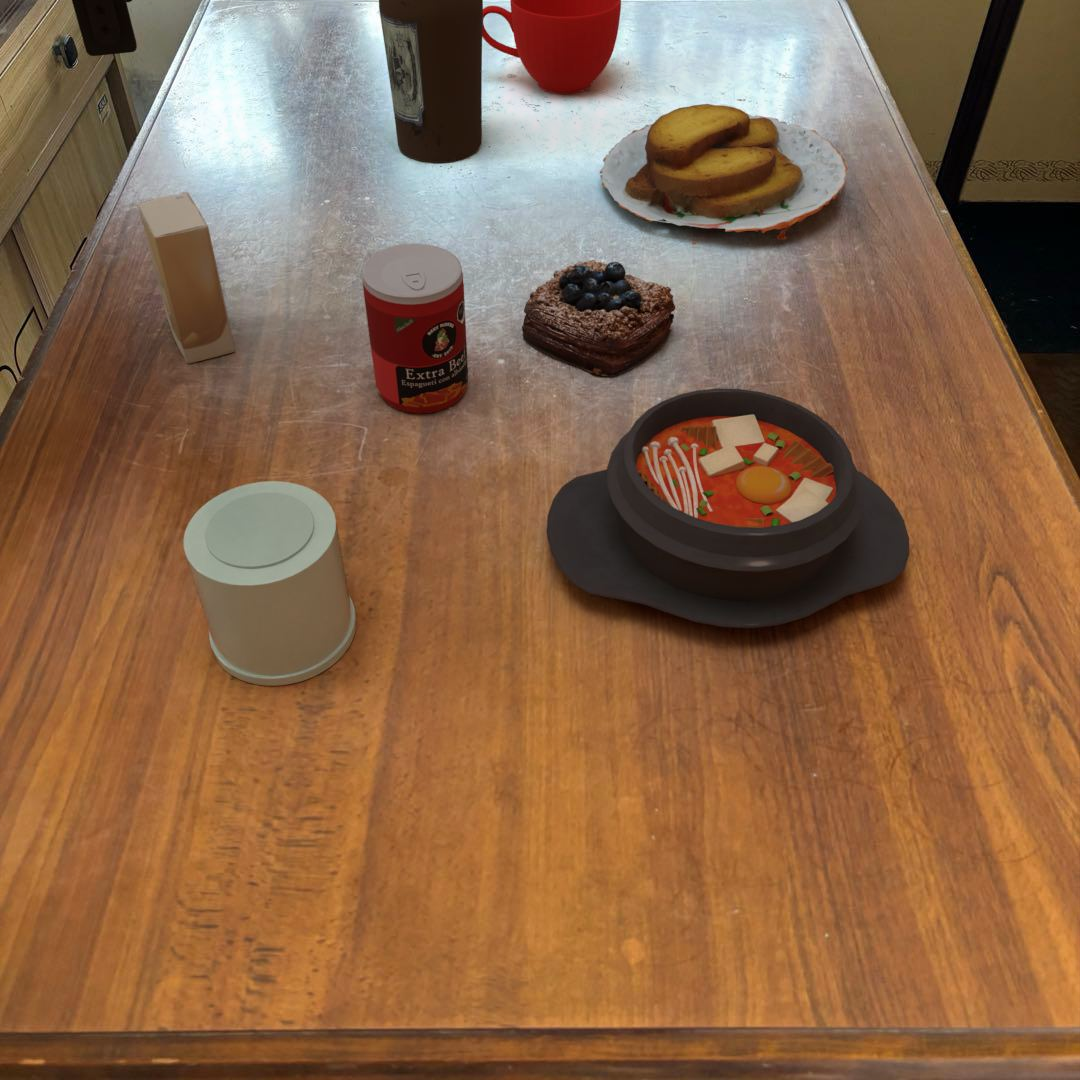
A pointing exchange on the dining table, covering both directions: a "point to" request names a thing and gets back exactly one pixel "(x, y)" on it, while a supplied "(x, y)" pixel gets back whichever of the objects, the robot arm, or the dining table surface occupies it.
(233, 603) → the upturned cup
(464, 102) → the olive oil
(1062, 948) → the dining table surface
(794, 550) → the casserole
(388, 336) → the canned food
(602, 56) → the ceramic cup
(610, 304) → the pastry
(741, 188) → the food on plate
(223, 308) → the cosmetic box
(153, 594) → the dining table surface
